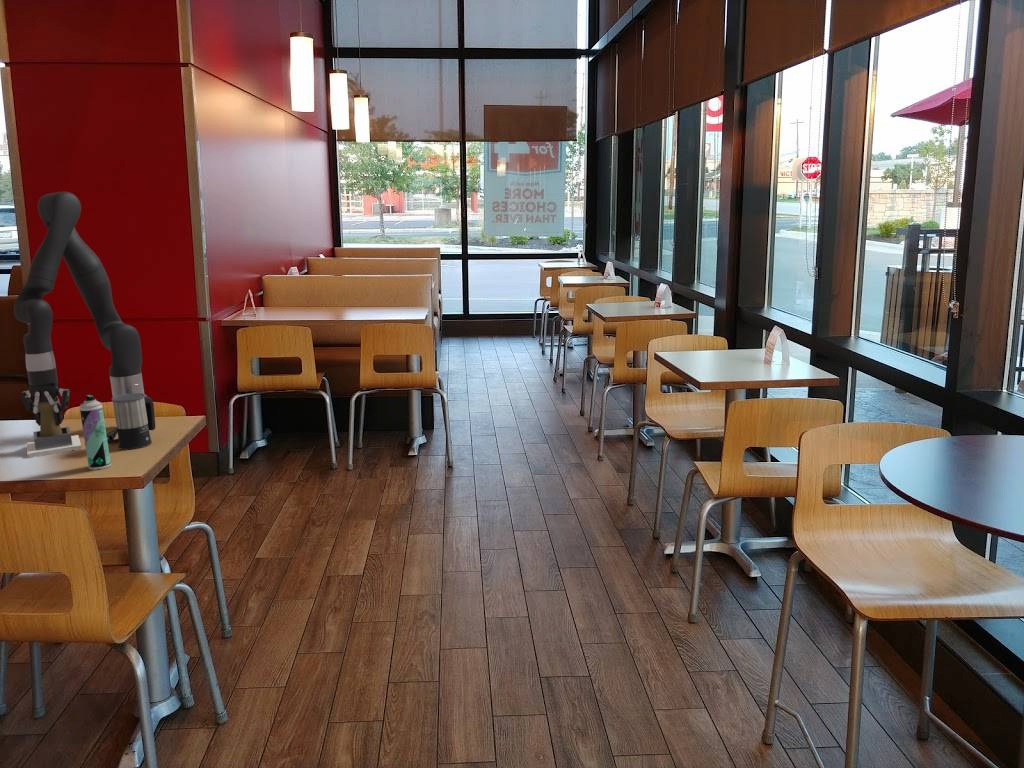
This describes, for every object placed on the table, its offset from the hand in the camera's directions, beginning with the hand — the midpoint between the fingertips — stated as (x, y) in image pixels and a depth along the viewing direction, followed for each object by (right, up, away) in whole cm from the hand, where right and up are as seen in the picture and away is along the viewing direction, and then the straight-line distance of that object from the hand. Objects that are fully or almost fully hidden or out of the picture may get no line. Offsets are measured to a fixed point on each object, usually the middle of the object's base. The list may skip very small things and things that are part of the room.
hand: (50, 424), depth 266 cm
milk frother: (+21, -6, +3) cm, 22 cm away
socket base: (0, -7, +2) cm, 7 cm away
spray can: (+24, -11, -20) cm, 33 cm away
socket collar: (0, -6, +1) cm, 6 cm away
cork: (0, -4, +1) cm, 4 cm away
